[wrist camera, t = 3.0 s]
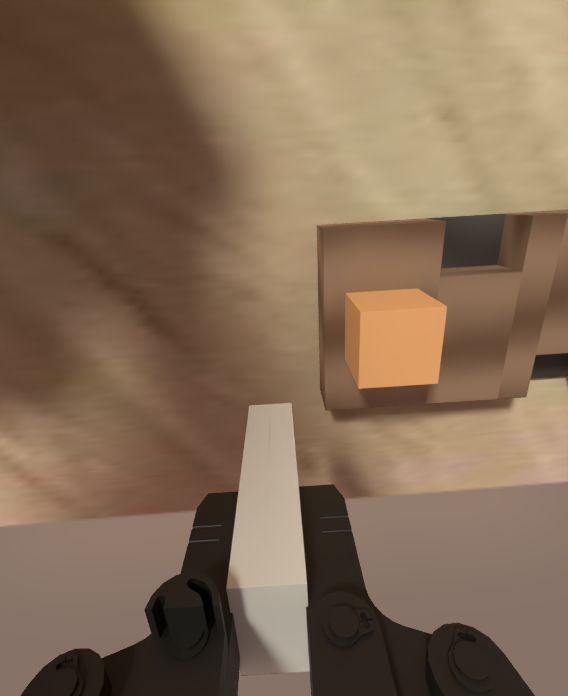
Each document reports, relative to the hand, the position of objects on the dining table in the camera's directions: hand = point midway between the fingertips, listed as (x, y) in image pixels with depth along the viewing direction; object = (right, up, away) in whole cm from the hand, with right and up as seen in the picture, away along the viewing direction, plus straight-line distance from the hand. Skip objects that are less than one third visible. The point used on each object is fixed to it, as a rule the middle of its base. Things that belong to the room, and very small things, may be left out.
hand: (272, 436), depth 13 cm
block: (+6, +5, +10) cm, 13 cm away
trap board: (+16, +6, +12) cm, 21 cm away
